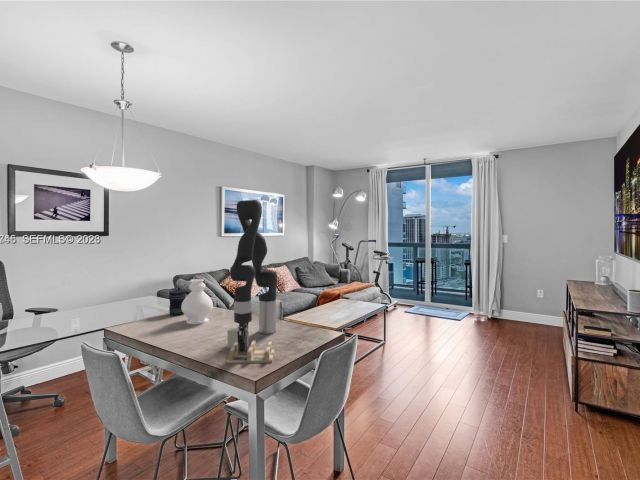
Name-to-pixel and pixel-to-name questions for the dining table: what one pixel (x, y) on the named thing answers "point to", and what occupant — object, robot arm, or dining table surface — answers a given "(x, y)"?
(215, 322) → the dining table surface
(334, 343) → the dining table surface
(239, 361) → the slot rack
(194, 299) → the decorative vase
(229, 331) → the sage plug
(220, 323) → the dining table surface
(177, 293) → the storage jar
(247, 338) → the charcoal plug
